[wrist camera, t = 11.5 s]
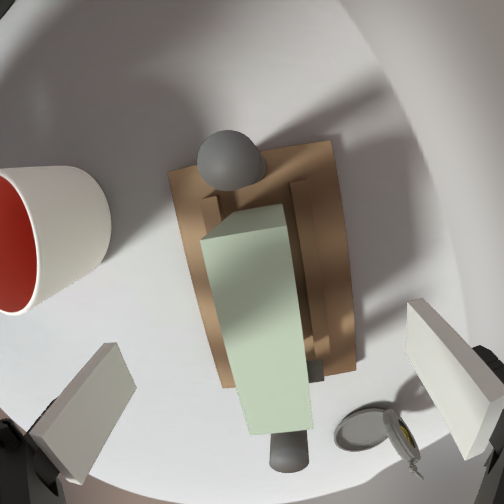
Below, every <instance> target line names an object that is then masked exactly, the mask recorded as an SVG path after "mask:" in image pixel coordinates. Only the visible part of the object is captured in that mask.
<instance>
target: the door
mask: <svg viewBox="0 0 504 504" xmlns="http://www.w3.org/2000/svg"><path fill="white" fill-rule="evenodd" d="M200 243H201V248H202V253H203V257H204V262H205V266H206V270H207V275H208V279H209V283H210V288H211V292H212V296H213V300H214V304H215V308H216V312H217V317H218V321H219V325H220V329H221V332H222V336H223V340H224V344H225V348H226V352H227V356H228V359H229V363H230V367H231V371H232V374H233V378H234V381H235V385H236V389H237V392H238V396H239V399H240V403H241V406H242V410H243V413H244V417H245V420H246V423H247V427H248V430H249V434H250V435H259V434H272V433H283V432H292V431H300V430H308V429H314V427H313V418H312V408H311V399H310V390H309V383H314V382H320V381H324V371H323V364H322V359H317V360H310V361H306V356H305V348H304V340H303V333H302V325H301V318H300V311H299V303H298V296H297V289H296V283H295V276H294V269H293V263H292V256H291V250H290V244H289V237H288V231H287V225H286V220H285V215H284V210H283V205H282V203H281V204H275V205H269V206H263V207H257V208H252V209H246V210H240V211H235V212H233V213H232V214H230V215H229V216H228V217H227V218H226V219H224V220H223V221H222V222H221V223H220V224H218V225H217V226H216V227H215V228H214V229H212V230H211V231H210V232H209V233H208V234H207V235H205V236H204V237H203V238H202V239H201V240H200Z"/></svg>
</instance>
